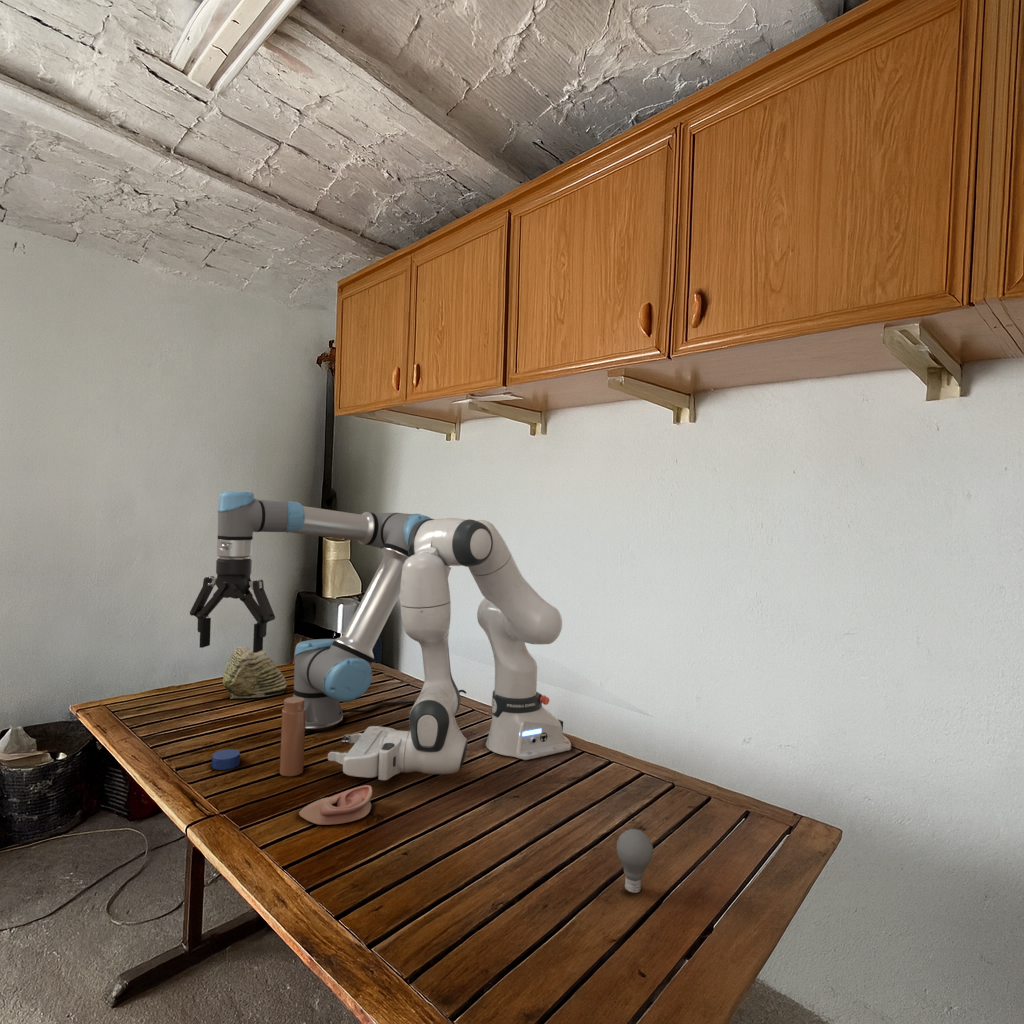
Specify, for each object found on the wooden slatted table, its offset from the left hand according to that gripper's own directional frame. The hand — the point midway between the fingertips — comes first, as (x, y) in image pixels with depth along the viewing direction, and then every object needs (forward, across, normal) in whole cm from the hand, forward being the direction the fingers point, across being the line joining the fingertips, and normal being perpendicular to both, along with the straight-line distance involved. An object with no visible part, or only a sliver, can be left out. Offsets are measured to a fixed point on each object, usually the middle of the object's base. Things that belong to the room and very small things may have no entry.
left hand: (231, 649), depth 147 cm
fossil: (+27, -23, +47) cm, 59 cm away
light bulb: (+27, +93, -26) cm, 100 cm away
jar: (+27, +16, 0) cm, 31 cm away
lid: (+25, 0, 0) cm, 25 cm away
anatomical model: (+27, +34, -14) cm, 46 cm away
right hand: (+21, +26, +2) cm, 33 cm away
